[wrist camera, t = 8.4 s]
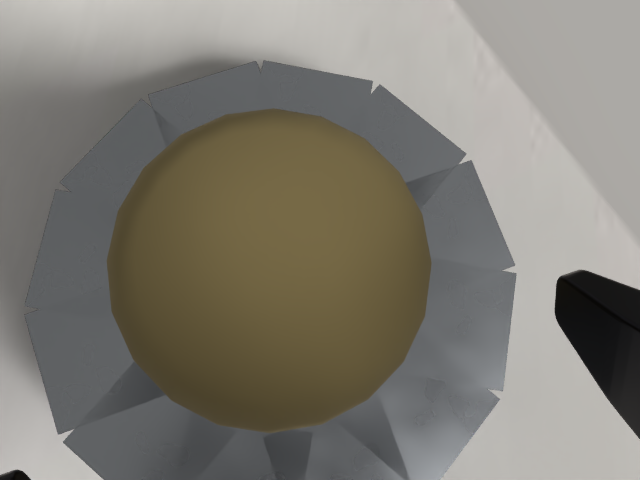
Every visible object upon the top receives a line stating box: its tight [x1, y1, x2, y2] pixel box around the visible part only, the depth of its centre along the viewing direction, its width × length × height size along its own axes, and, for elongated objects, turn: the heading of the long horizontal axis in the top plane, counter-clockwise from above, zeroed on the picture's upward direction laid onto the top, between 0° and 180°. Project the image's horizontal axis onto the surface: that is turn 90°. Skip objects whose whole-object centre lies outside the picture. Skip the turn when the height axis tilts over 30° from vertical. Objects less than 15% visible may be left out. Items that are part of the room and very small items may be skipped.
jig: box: [25, 61, 516, 480], centre depth 18 cm, size 14×14×3 cm
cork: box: [107, 108, 432, 433], centre depth 13 cm, size 6×6×11 cm
